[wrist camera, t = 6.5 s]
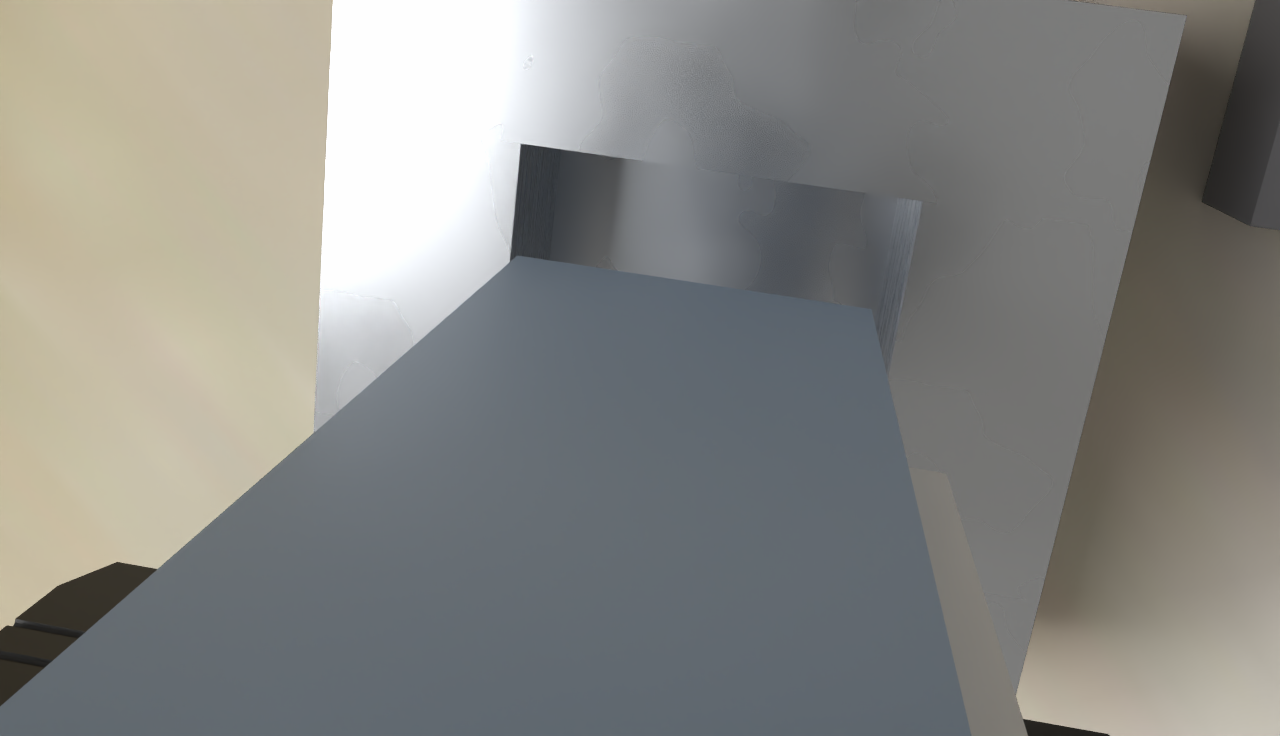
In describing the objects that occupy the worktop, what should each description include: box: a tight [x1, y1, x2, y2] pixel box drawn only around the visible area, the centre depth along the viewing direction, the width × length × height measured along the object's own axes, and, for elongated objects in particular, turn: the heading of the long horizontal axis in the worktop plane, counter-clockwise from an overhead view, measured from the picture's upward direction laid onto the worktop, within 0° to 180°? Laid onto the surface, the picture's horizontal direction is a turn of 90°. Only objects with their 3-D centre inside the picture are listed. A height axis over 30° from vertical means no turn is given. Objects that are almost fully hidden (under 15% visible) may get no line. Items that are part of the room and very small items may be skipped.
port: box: [314, 0, 1187, 696], centre depth 21 cm, size 13×12×5 cm
